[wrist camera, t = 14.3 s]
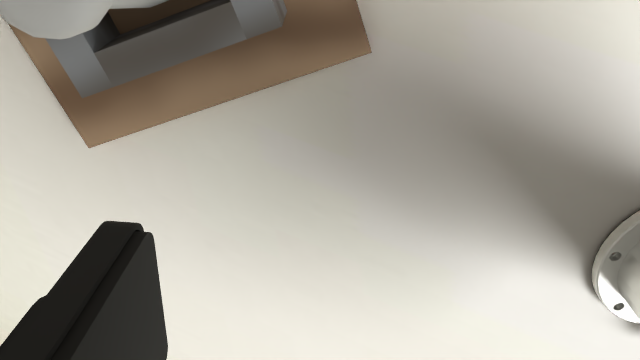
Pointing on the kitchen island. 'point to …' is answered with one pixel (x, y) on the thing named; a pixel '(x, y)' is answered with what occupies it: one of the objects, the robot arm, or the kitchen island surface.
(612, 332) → the kitchen island surface
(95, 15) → the salt shaker
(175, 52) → the holder
